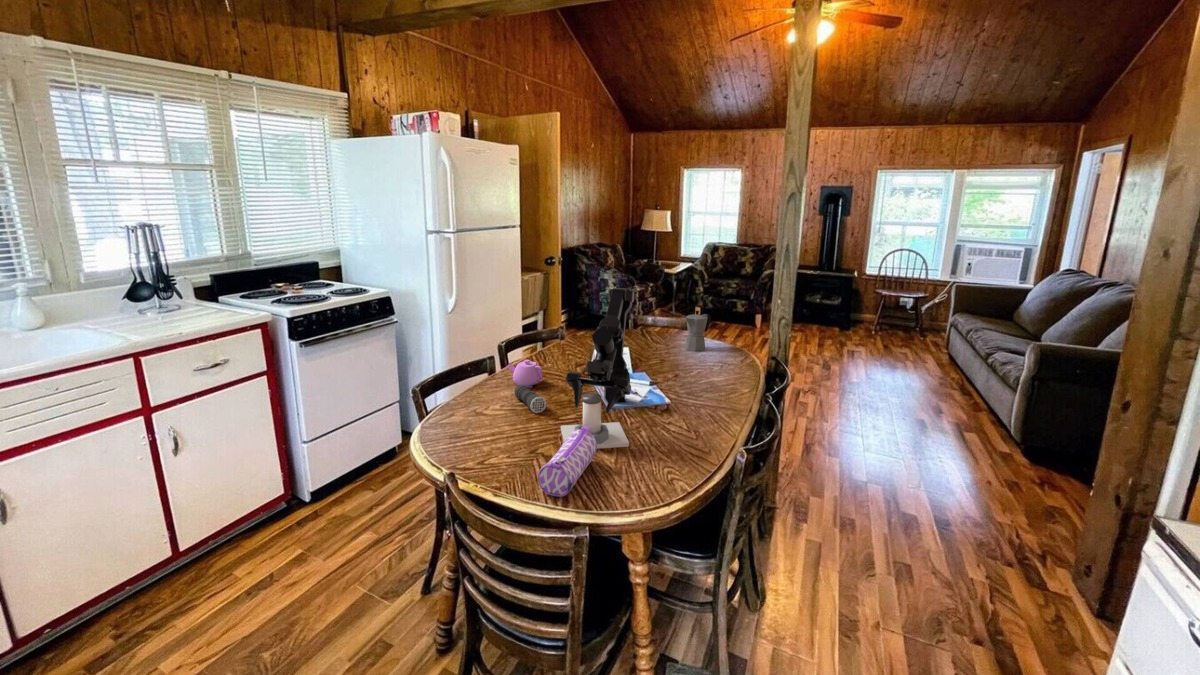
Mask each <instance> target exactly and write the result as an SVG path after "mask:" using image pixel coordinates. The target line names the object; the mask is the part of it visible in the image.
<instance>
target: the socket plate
mask: <svg viewBox="0 0 1200 675" xmlns="http://www.w3.org/2000/svg"><path fill="white" fill-rule="evenodd" d="M582 426H583V422H582V423H579V424H568V425H565V424H564V425H560V432H561V435H562V440H563V441H562V442H563V443H564V442H565V441H566V439H567V438H568V437H569V435H570V434H571V433H572V432H573V431H574V430H576V429H581V427H582ZM593 436H594V438H595V440H596V443H597V449H611V448H613V449H614V448H625V447H626V448H627V447H630V442H629V440H628V437H627V436H626V433H625V432H624V429H623V427H622V425H621V423H620V421H619V422H618V421H617V422H616V421H615V422H601V433H600V434H595V435H593Z"/></svg>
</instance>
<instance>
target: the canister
mask: <svg viewBox="0 0 1200 675" xmlns="http://www.w3.org/2000/svg"><path fill="white" fill-rule="evenodd" d="M581 398H582V399H581V400H582V423H583V426H587V427H590V431H589V433H591V434H592V435H595V434H600V433H601V423H602V395H600V394H599V393H595V392H594V393H593V392H589V393H585V394H582V396H581Z"/></svg>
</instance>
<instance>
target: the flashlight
mask: <svg viewBox="0 0 1200 675" xmlns="http://www.w3.org/2000/svg"><path fill="white" fill-rule="evenodd" d="M514 395H515V398H517V399H518V400H519V401H522V402H524V404H525V406H526V407H528V409H529V410H531V411H532V412H533V413H535V414H538V413H543V412H544V411H545V409H546V407H547V401H546V399H545V398H544V397H542V395H540V394H537V393H536V392H533V391H532V390H531V388H529V387H527V386H526V385H518V386H517V385H516V387H515V389H514Z"/></svg>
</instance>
